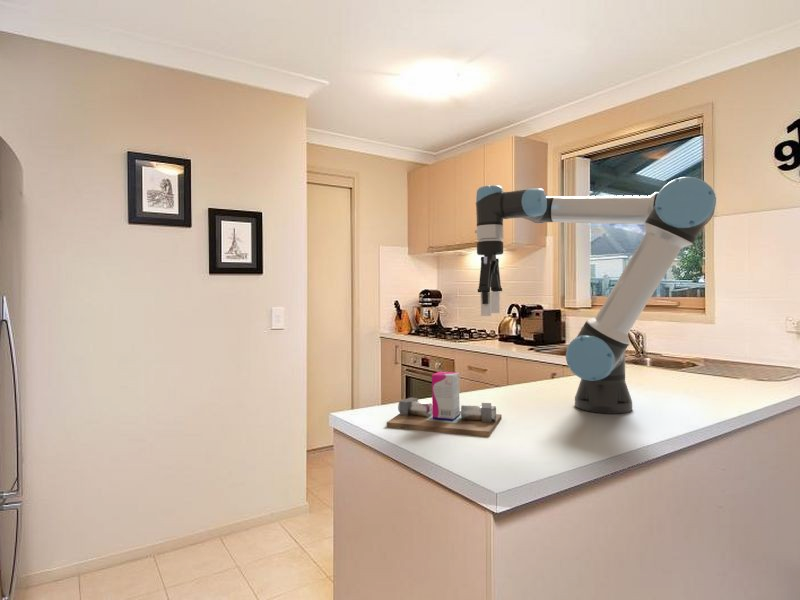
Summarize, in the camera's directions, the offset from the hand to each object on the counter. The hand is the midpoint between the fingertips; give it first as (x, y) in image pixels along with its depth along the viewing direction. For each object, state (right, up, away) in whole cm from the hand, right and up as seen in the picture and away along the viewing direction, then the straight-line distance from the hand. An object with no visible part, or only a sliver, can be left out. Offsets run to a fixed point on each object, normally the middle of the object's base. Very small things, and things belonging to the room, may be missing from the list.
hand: (490, 314), depth 143 cm
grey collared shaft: (-6, -26, -18) cm, 32 cm away
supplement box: (-14, -26, -16) cm, 34 cm away
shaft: (-22, -26, -12) cm, 36 cm away
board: (-15, -27, -16) cm, 35 cm away
